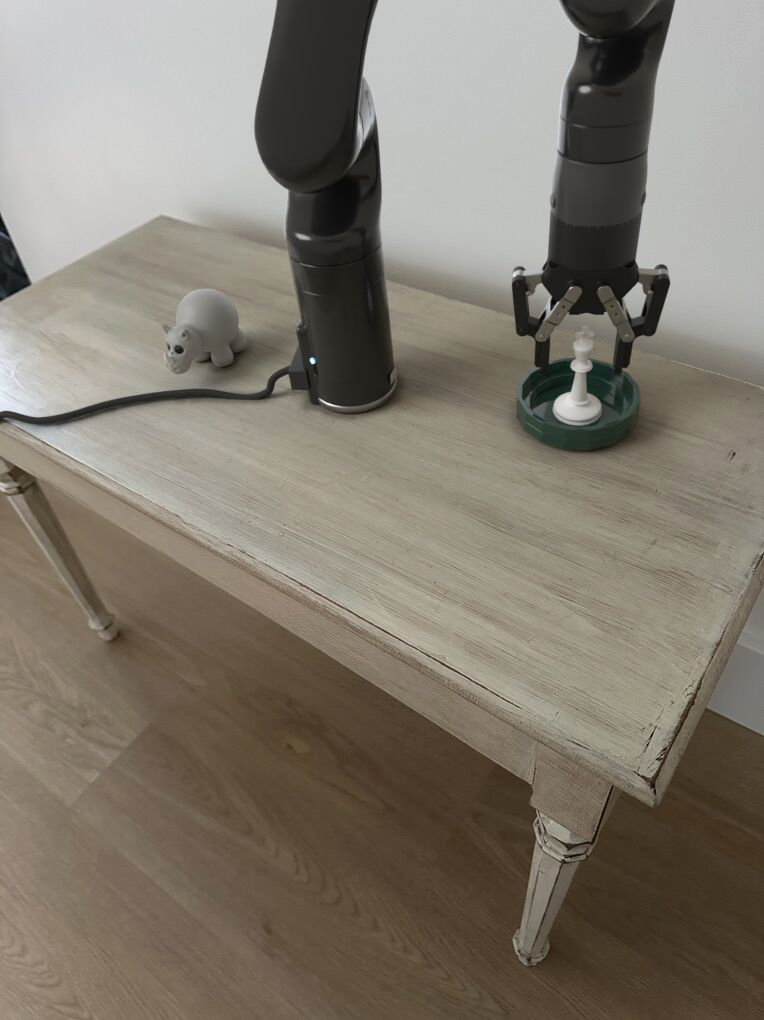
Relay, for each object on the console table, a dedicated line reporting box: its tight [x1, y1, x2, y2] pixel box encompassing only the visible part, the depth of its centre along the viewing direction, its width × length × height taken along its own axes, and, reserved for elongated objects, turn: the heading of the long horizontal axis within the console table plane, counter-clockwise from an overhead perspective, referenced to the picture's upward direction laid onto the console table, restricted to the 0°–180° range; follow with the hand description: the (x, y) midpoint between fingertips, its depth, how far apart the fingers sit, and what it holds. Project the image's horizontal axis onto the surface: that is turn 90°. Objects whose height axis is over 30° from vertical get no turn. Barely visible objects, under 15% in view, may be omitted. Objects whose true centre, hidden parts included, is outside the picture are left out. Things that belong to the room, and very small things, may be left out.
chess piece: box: [553, 324, 602, 426], centre depth 78 cm, size 5×5×10 cm
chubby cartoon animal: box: [161, 288, 248, 375], centre depth 92 cm, size 7×12×8 cm, turn 153°
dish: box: [516, 357, 642, 451], centre depth 81 cm, size 12×12×3 cm
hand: (580, 368), depth 78 cm, fingers open, 6 cm apart
